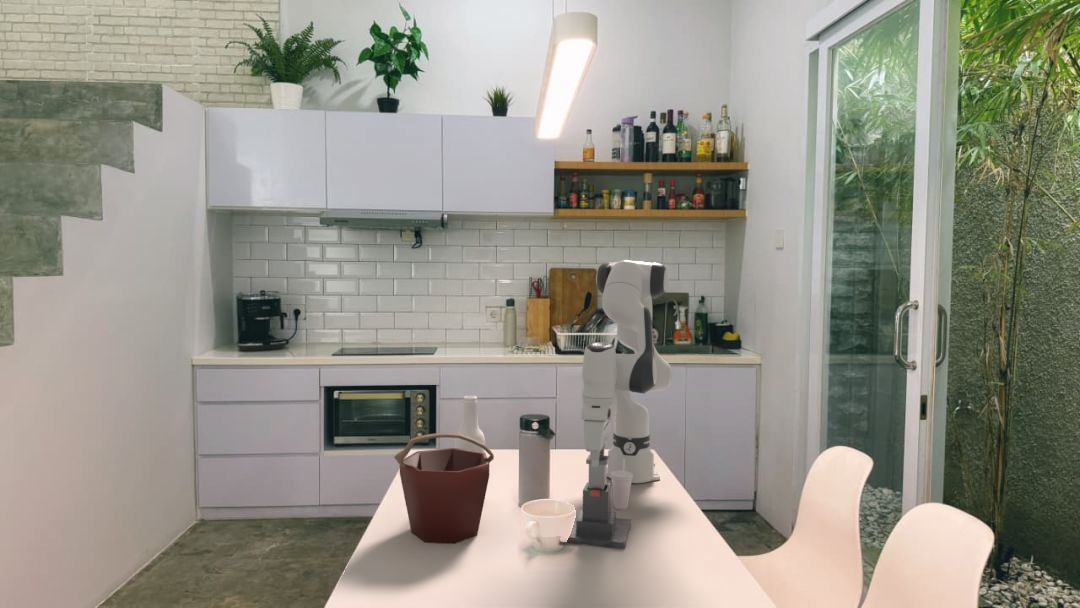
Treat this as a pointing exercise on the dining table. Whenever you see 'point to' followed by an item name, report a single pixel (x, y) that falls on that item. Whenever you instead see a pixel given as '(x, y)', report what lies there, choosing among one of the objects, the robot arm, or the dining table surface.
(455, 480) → the bucket
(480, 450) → the white bottle
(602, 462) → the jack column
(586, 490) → the base
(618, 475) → the smoothie
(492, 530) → the dining table surface
